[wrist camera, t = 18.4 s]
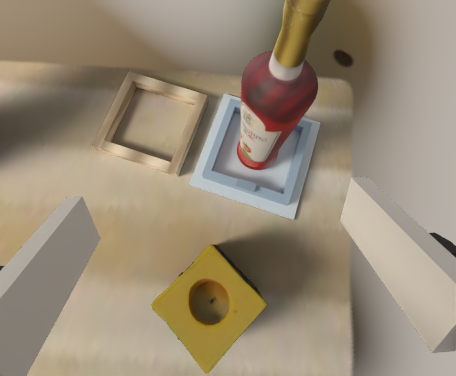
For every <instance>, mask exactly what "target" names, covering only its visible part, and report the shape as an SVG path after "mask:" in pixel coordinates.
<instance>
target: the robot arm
mask: <svg viewBox="0 0 456 376" xmlns="http://www.w3.org/2000/svg"><path fill="white" fill-rule="evenodd" d="M340 221H341V223H342V224H343V226H344V227H345V229H346V230H347V231H348V233H349V234H350V236H351V237H352V239H353V240H354V241H355V243H356V244H357V246H358V247H359V249H360V250H361V252H362V253H363V254H364V256H365V257H366V259H367V260H368V261H369V263H370V264H371V266H372V267H373V269H374V270H375V272H376V273H377V275H378V276H379V277H380V279H381V280H382V282H383V283H384V285H385V286H386V288H387V289H388V290H389V292H390V293H391V295H392V296H393V297H394V299H395V300H396V302H397V303H398V305H399V306H400V308H401V309H402V311H403V312H404V313H405V315H406V316H407V318H408V319H409V321H410V322H411V324H412V325H413V326H414V328H415V329H416V331H417V332H418V334H419V335H420V336H421V338H422V339H423V341H424V342H425V344H426V345H427V346H428V348H429V349H430V351H431V352H432V353H437V352H448V351H455V350H456V246H455V245H454V244H453V243H452V242H450V241H449V240H447V239H445V238H443V237H441V236H440V235H438V234H436V233H428V232H427V231H426V230H425V229H423V228H422V227H421V226H420V225H419V224H418V223H417V222H416V221H414V219H413V218H411V217H410V216H409V215H408V214H407V213H406V212H405V211H404V210H402V208H400V207H399V206H398V205H397V204H396V203H395V202H394V201H392V199H391V198H389V197H388V196H387V195H386V194H385V193H384V192H383V191H382V190H381V189H380V188H378V187H377V186H376V185H375V184H374V183H373V182H372V181H371V180H370V179H368V177H355V178H351V181H350V185H349V189H348V193H347V197H346V201H345V205H344V208H343V212H342V216H341V220H340ZM100 239H101V238H100V236H99V234H98V231H97V229H96V227H95V224H94V222H93V220H92V218H91V215H90V213H89V211H88V208H87V206H86V204H85V202H84V199H83V197H82V196H80V197H66V198H65V199H64V200H63V201H62V202H61V204H60V205H59V206H58V207H57V208H56V209H55V210H54V211H53V213H52V214H51V215H50V216H49V217H48V218H47V219H46V220H45V221H44V223H43V224H42V225H41V226H40V227H39V228H38V229H37V230H36V232H35V233H34V234H33V235H32V236H31V237H30V238H29V239H28V240H27V242H26V243H25V244H24V245H23V246H22V247H21V248H20V249H19V251H18V252H17V253H16V254H15V255H14V256H13V257H12V258H11V259H10V261H9V262H8V263H7V264H6V265H5V266H0V376H26V375H27V373H28V371H29V370H30V368H31V366H32V364H33V362H34V360H35V359H36V357H37V355H38V353H39V351H40V349H41V348H42V346H43V344H44V342H45V340H46V338H47V337H48V335H49V333H50V331H51V329H52V327H53V325H54V324H55V322H56V320H57V318H58V316H59V314H60V313H61V311H62V309H63V307H64V305H65V303H66V302H67V300H68V298H69V296H70V294H71V292H72V290H73V289H74V287H75V285H76V283H77V281H78V279H79V278H80V276H81V274H82V272H83V270H84V268H85V267H86V265H87V263H88V261H89V259H90V257H91V256H92V254H93V252H94V250H95V248H96V246H97V244H98V243H99V241H100Z"/></svg>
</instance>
